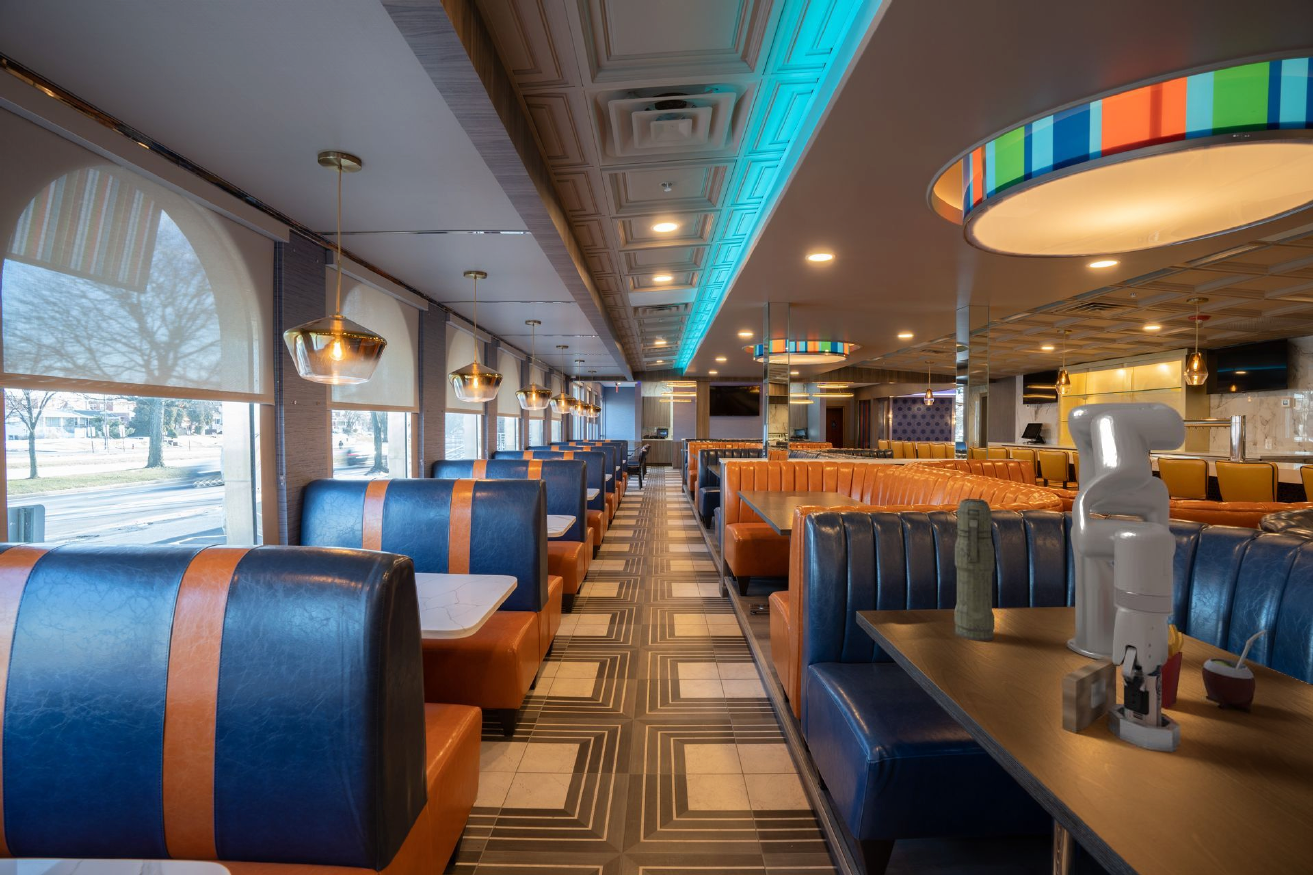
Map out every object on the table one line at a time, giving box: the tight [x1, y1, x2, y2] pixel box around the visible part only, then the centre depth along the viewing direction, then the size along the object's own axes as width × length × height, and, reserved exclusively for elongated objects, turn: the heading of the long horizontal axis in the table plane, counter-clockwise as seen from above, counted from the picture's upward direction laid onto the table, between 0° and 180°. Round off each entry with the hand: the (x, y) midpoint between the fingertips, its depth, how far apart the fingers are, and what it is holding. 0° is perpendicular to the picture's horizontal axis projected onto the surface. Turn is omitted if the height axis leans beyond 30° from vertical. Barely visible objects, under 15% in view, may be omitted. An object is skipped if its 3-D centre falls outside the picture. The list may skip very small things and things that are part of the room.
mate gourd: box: [1201, 629, 1268, 714], centre depth 104 cm, size 8×8×15 cm
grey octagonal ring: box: [1107, 703, 1181, 753], centre depth 93 cm, size 8×8×4 cm
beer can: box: [1124, 662, 1162, 727], centre depth 94 cm, size 5×5×12 cm
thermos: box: [953, 498, 995, 642], centre depth 142 cm, size 9×12×35 cm
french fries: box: [1161, 624, 1185, 710], centre depth 107 cm, size 9×8×15 cm
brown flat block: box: [1061, 657, 1117, 734], centre depth 100 cm, size 17×2×9 cm, turn 122°
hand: (1142, 705), depth 94 cm, fingers closed on beer can, 4 cm apart
